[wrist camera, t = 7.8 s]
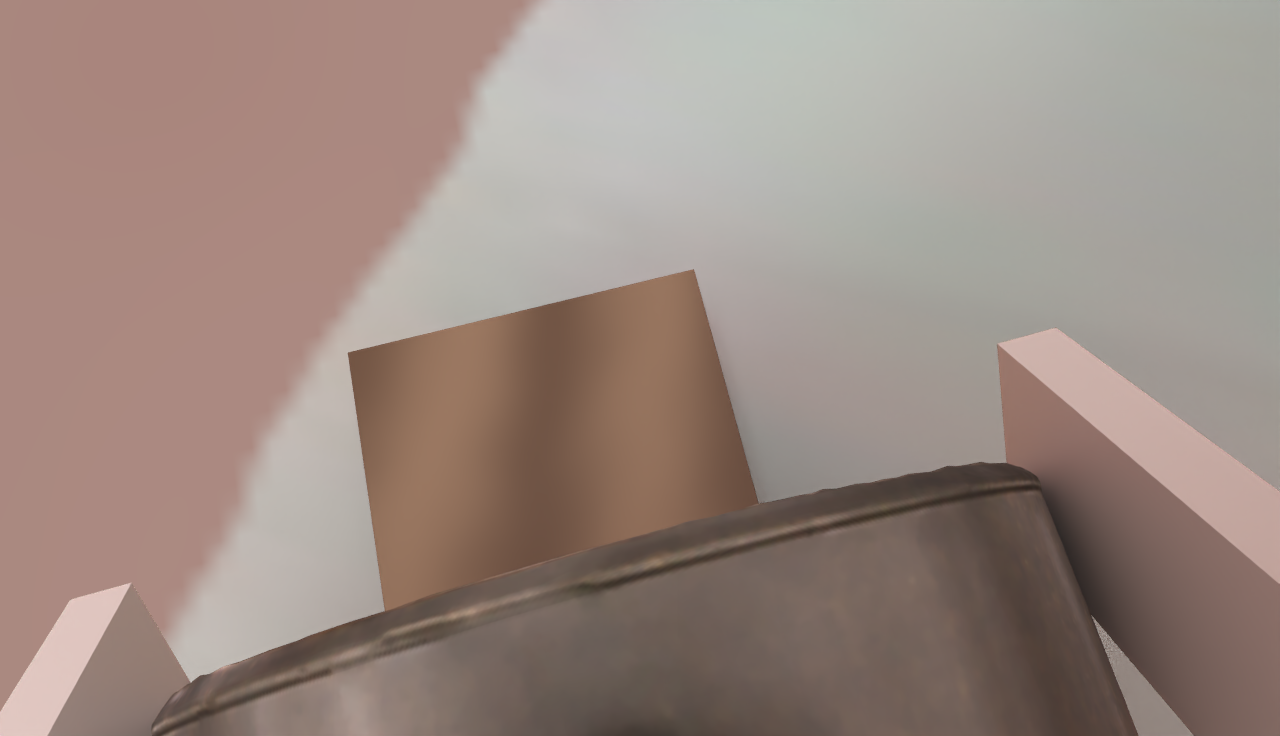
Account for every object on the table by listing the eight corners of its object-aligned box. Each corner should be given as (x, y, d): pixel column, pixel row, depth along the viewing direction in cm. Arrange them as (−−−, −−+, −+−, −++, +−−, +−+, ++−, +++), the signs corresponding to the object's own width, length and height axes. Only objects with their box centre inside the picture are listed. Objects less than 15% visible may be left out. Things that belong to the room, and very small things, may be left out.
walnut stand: (695, 330, 35) (693, 269, 30) (786, 667, 31) (802, 662, 26) (399, 402, 35) (347, 352, 30) (455, 749, 31) (406, 760, 26)
